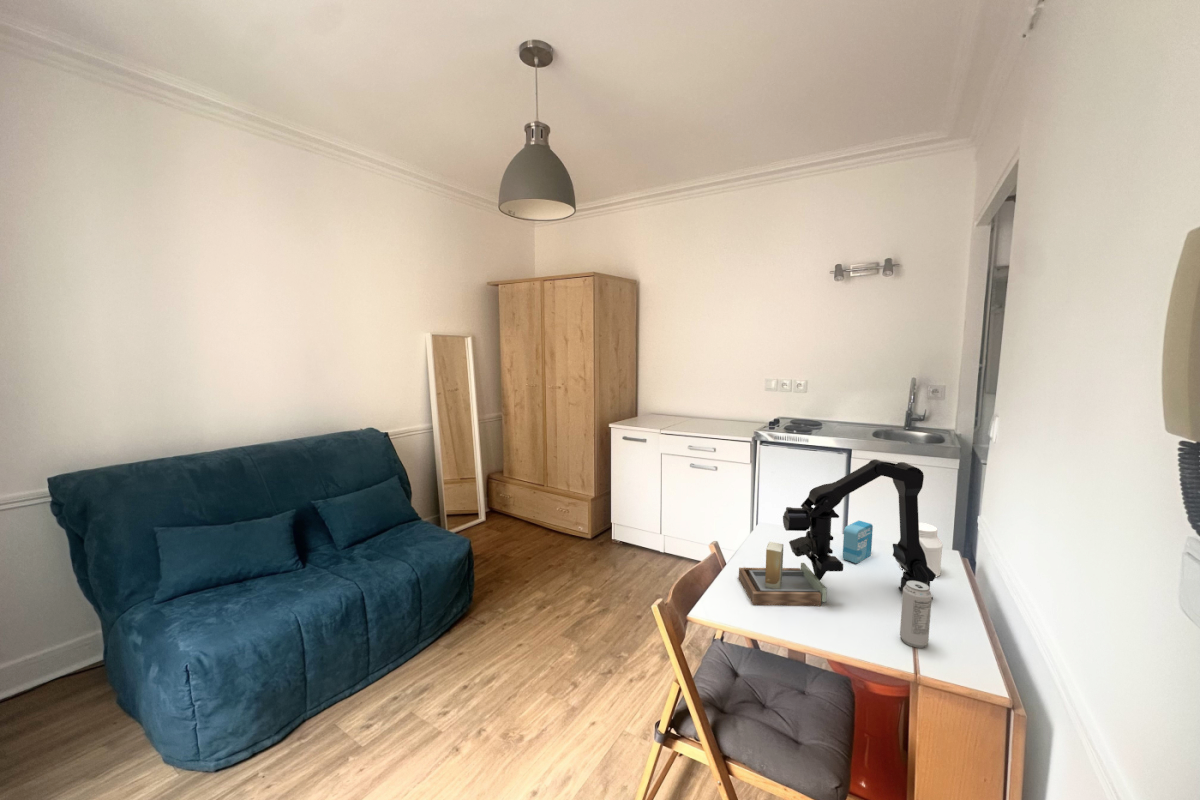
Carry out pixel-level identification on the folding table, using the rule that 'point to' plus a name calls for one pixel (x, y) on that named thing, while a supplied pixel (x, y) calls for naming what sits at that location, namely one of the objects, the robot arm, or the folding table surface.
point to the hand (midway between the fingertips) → (818, 580)
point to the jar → (931, 546)
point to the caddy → (777, 593)
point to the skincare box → (774, 565)
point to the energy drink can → (915, 614)
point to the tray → (790, 581)
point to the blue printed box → (857, 541)
